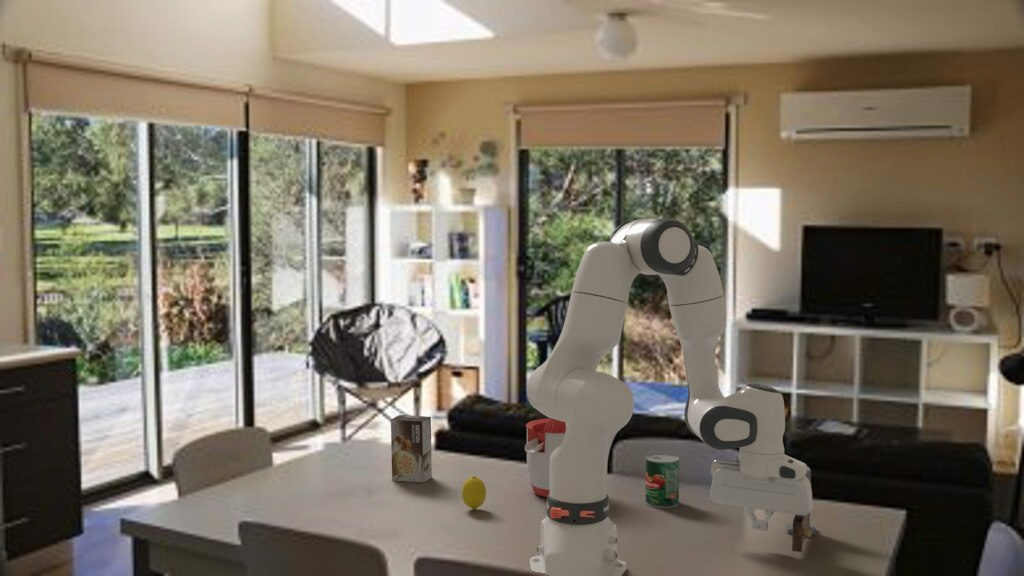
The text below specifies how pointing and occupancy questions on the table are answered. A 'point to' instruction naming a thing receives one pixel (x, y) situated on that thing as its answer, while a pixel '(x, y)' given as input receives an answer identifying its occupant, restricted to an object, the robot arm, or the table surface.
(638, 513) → the table surface
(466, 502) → the lemon
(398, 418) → the coffee box
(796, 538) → the gate leaf
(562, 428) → the citrus juicer
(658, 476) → the canned tomato
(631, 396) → the robot arm
